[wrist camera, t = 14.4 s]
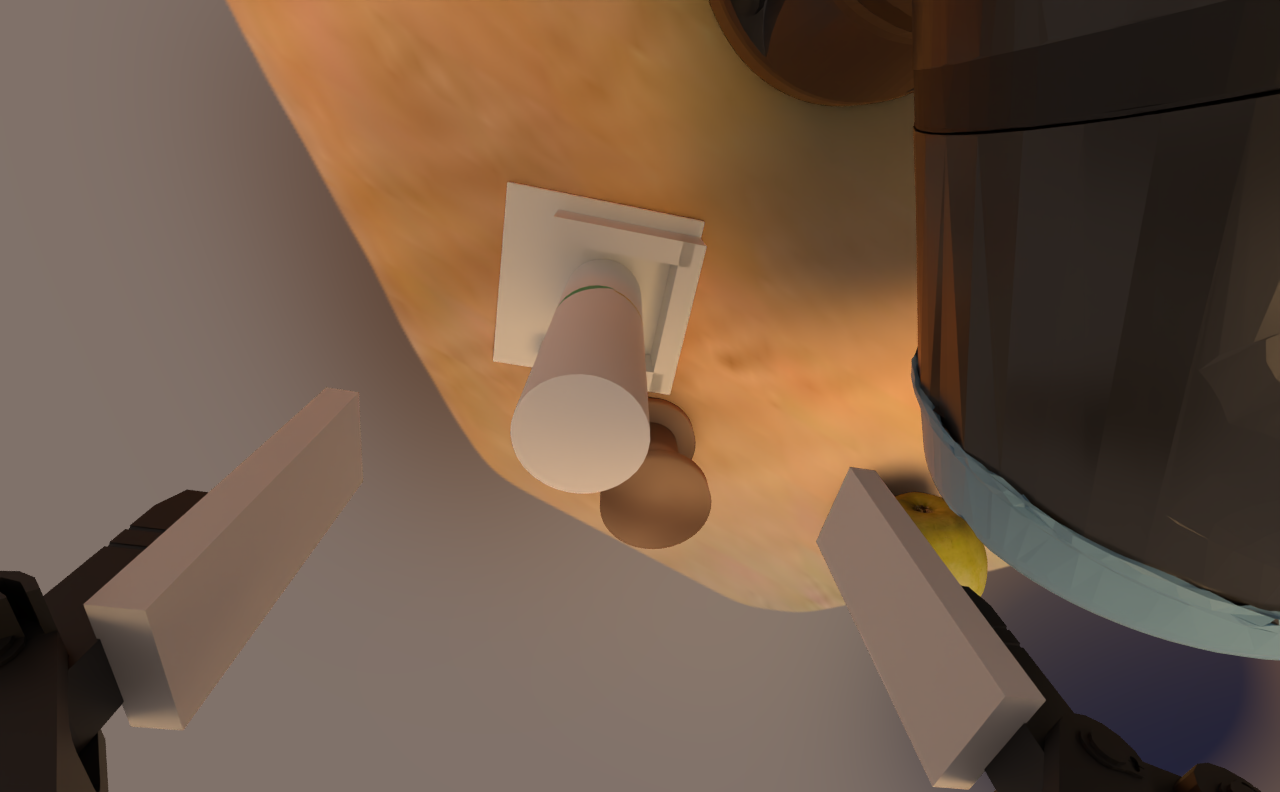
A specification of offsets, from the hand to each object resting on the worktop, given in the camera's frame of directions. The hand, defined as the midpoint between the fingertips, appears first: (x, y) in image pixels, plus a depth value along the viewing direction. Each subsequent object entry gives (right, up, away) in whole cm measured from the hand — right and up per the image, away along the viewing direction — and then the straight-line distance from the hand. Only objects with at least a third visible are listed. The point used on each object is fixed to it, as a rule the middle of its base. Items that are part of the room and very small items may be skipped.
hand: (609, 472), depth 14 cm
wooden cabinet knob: (+1, -1, +20) cm, 20 cm away
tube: (-1, +8, +15) cm, 17 cm away
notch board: (-2, +8, +16) cm, 18 cm away
